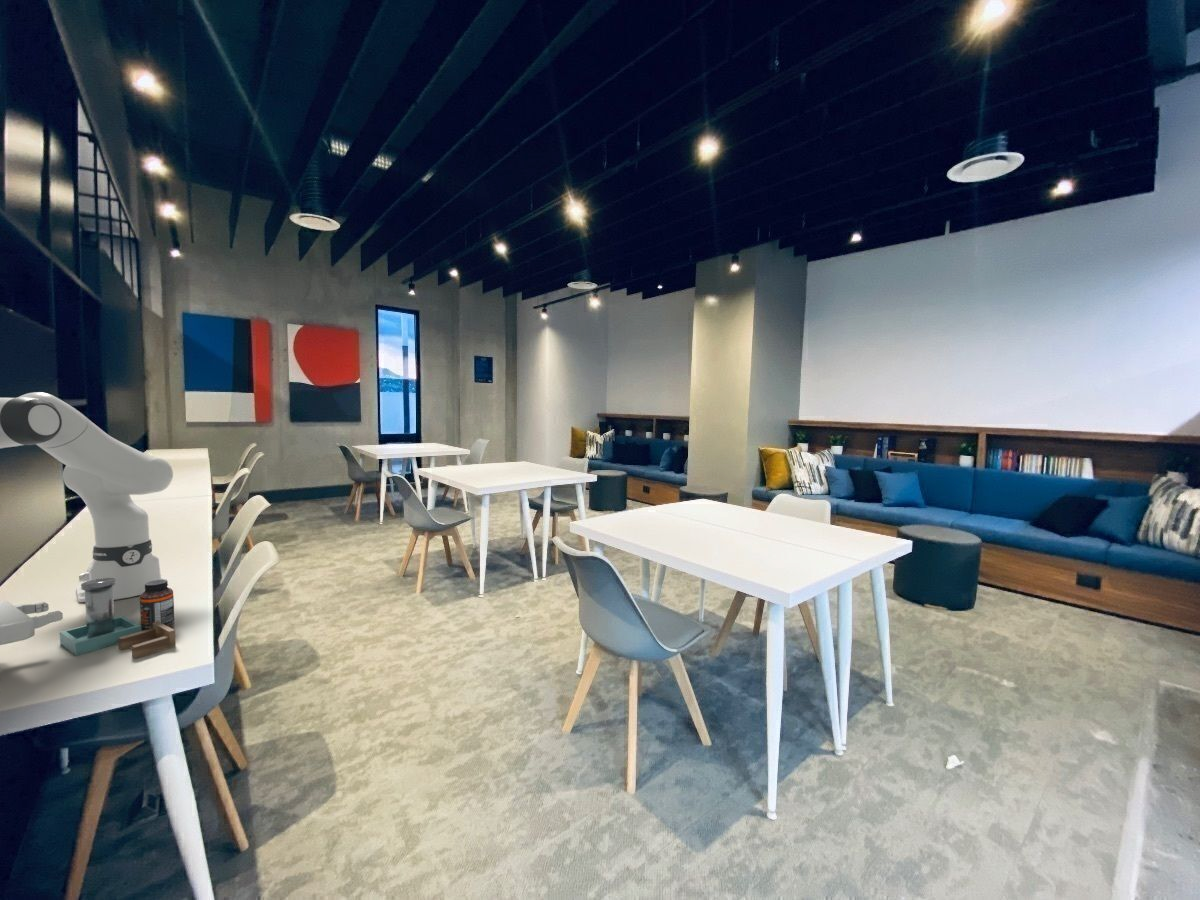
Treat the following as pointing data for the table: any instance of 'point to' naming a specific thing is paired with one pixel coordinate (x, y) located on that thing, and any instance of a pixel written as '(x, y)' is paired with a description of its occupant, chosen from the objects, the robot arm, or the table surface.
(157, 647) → the bracket
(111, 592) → the pin
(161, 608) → the supplement bottle
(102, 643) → the tray
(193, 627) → the table surface
